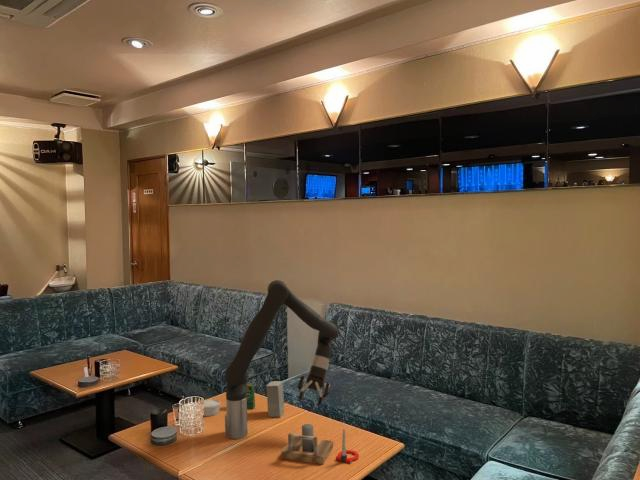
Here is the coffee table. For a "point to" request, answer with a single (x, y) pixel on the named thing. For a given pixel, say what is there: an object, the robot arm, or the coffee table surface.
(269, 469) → the coffee table surface
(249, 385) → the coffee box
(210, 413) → the ramekin
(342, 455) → the tow hook
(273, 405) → the skincare box
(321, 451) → the wooden gate frame
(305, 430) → the grey tapered capsule
